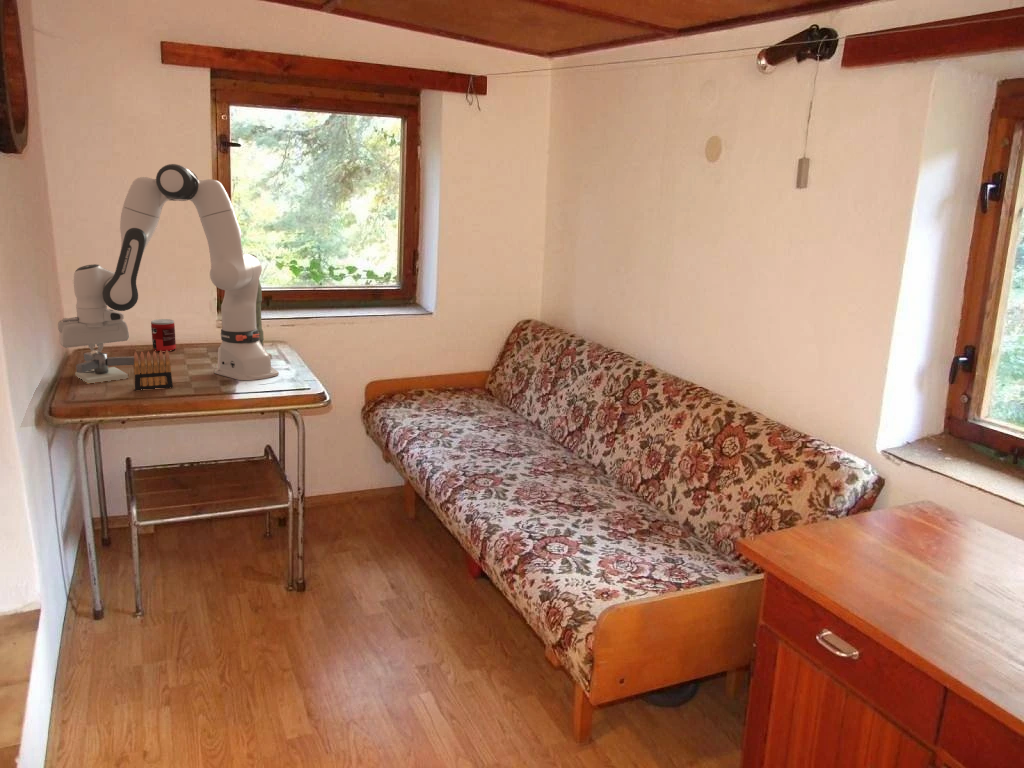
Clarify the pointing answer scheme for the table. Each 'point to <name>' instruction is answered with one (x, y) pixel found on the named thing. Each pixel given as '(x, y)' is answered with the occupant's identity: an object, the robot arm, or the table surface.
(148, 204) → the robot arm
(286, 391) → the table surface
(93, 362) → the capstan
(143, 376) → the ammunition clip
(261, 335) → the thermos
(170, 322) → the canned food
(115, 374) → the stand plate
